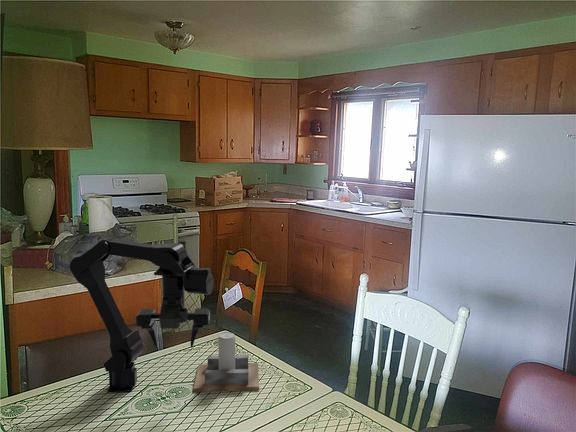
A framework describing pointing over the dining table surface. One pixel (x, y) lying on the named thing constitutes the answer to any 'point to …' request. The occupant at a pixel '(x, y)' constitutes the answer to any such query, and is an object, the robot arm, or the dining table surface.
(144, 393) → the dining table surface
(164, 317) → the robot arm
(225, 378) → the vise
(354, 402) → the dining table surface
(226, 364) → the beverage can
